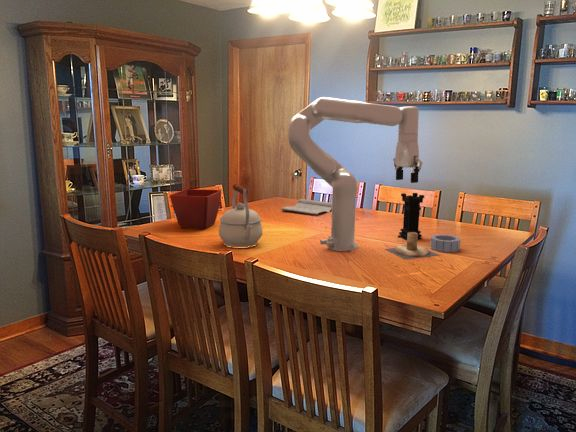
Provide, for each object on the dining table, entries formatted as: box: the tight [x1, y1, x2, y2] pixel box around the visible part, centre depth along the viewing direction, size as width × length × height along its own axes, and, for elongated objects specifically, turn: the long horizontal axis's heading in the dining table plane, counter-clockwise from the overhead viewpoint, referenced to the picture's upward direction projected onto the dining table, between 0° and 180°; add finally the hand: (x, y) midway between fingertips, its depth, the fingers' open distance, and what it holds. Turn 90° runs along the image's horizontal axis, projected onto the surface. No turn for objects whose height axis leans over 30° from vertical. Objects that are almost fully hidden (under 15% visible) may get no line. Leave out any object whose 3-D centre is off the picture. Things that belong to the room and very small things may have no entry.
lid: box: [394, 232, 430, 258], centre depth 196 cm, size 13×13×8 cm
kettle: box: [218, 183, 264, 247], centre depth 205 cm, size 25×18×25 cm
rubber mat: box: [384, 247, 440, 260], centre depth 197 cm, size 16×15×1 cm
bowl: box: [429, 234, 461, 253], centre depth 202 cm, size 11×11×5 cm
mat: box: [281, 198, 332, 217], centre depth 281 cm, size 23×24×5 cm
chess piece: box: [397, 192, 425, 241], centre depth 217 cm, size 8×8×20 cm
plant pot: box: [169, 188, 222, 230], centre depth 240 cm, size 19×19×17 cm
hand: (406, 181), depth 199 cm, fingers open, 9 cm apart
